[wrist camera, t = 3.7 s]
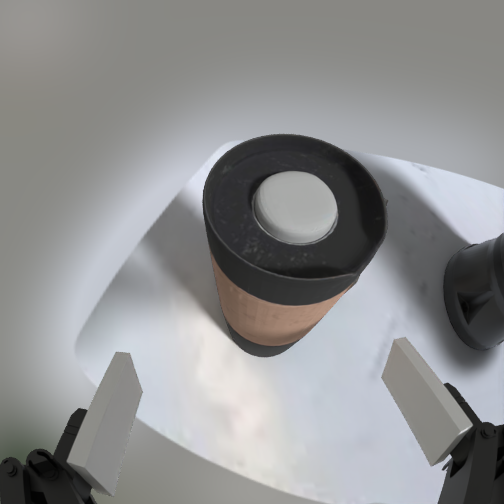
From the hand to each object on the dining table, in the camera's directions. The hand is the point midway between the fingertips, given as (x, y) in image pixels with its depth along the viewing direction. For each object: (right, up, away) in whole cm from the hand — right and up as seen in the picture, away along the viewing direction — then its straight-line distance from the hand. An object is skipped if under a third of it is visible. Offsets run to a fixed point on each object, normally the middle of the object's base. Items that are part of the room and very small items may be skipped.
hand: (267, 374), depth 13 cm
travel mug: (+1, -2, +16) cm, 16 cm away
